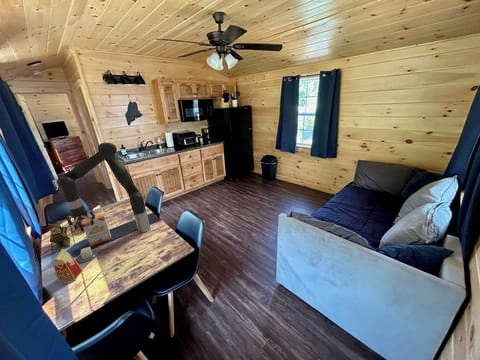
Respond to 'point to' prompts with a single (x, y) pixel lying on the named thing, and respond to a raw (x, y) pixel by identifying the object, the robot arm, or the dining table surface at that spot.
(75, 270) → the milk carton
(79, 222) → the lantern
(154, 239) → the dining table surface
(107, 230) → the cracker box
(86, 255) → the cube
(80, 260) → the disc
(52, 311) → the dining table surface
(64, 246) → the olive piece
